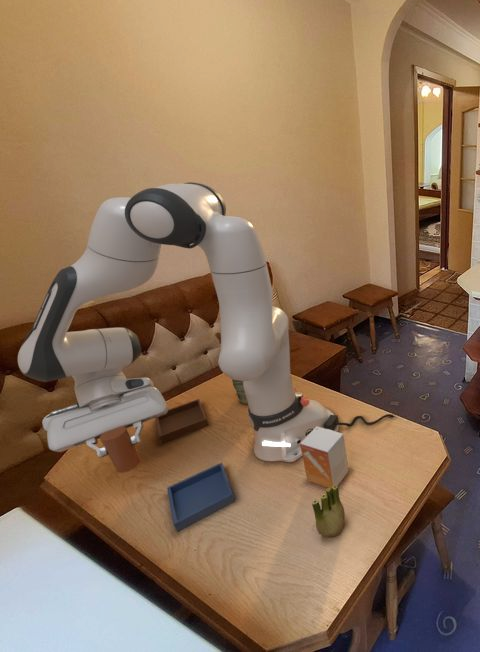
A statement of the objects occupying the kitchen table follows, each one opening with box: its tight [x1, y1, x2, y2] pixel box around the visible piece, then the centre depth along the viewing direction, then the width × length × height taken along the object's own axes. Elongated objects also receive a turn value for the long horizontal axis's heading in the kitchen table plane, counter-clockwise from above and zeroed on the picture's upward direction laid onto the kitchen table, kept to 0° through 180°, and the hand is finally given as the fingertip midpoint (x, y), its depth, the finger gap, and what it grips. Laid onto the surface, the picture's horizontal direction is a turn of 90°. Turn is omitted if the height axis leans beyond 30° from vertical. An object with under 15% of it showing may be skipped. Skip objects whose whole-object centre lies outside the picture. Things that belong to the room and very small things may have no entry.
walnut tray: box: [154, 398, 209, 445], centre depth 107 cm, size 11×12×2 cm
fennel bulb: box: [311, 484, 346, 538], centre depth 77 cm, size 6×5×12 cm
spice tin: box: [99, 426, 142, 473], centre depth 83 cm, size 4×4×10 cm
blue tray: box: [166, 461, 236, 533], centre depth 85 cm, size 11×12×2 cm
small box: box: [300, 427, 350, 489], centre depth 89 cm, size 8×6×13 cm
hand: (120, 449), depth 82 cm, fingers closed on spice tin, 4 cm apart
